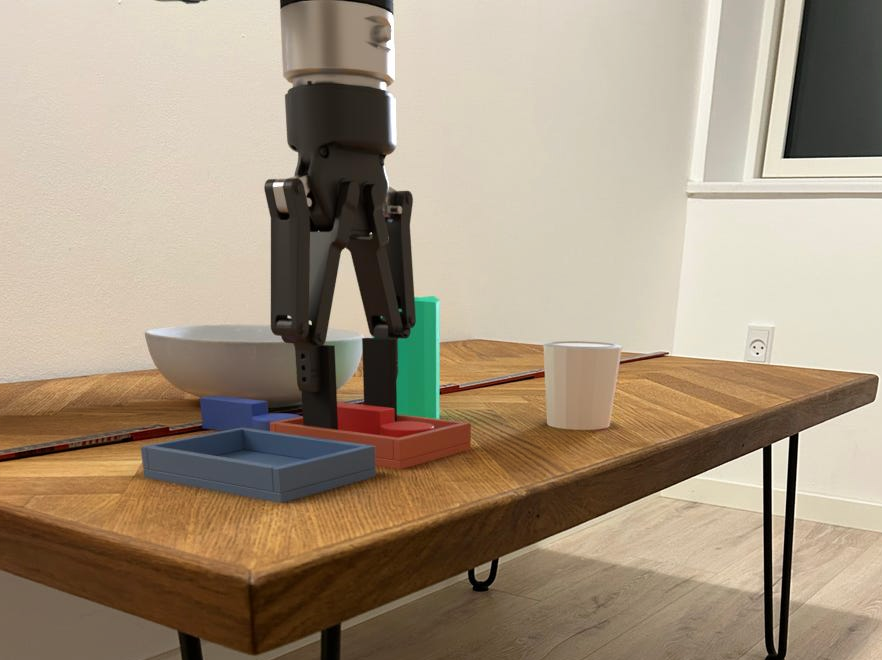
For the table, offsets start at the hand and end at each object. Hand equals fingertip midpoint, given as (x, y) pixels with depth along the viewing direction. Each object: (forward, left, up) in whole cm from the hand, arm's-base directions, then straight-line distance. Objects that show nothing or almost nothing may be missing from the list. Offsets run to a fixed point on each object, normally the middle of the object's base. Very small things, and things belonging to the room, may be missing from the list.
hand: (352, 429), depth 73 cm
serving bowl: (-23, +13, -2) cm, 26 cm away
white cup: (+9, +20, -2) cm, 23 cm away
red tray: (+2, 0, -1) cm, 2 cm away
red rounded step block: (+2, 0, -1) cm, 3 cm away
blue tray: (+2, -12, -1) cm, 12 cm away
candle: (-5, +13, -2) cm, 14 cm away
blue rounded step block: (-11, 0, -1) cm, 11 cm away
